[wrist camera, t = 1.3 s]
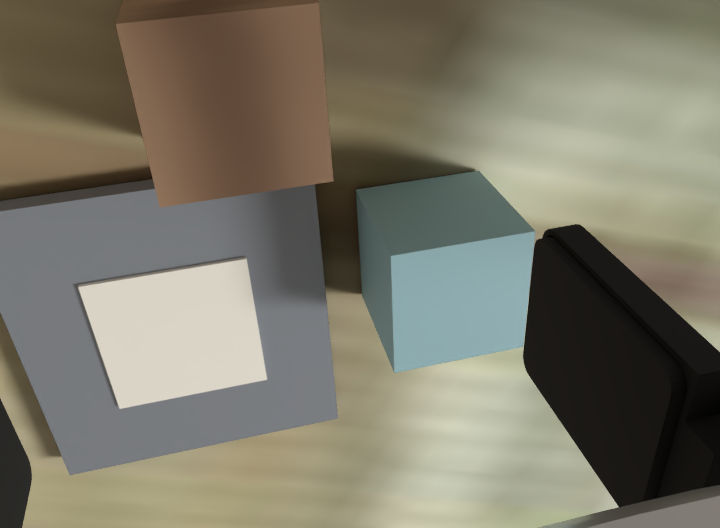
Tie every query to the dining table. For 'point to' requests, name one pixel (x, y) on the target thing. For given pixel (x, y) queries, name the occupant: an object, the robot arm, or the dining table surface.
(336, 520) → the dining table surface
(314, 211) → the grey flat slab
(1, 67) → the dining table surface
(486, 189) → the teal block
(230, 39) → the walnut block
